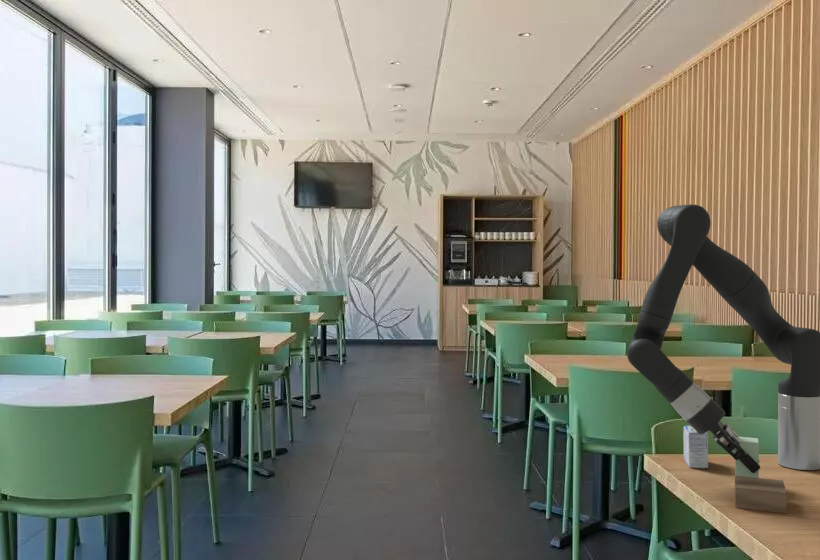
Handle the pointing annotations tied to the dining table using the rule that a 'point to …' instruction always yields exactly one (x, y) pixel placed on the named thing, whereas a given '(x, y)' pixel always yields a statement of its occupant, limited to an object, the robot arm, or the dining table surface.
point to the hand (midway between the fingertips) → (756, 467)
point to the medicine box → (695, 448)
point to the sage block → (753, 450)
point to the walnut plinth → (760, 494)
